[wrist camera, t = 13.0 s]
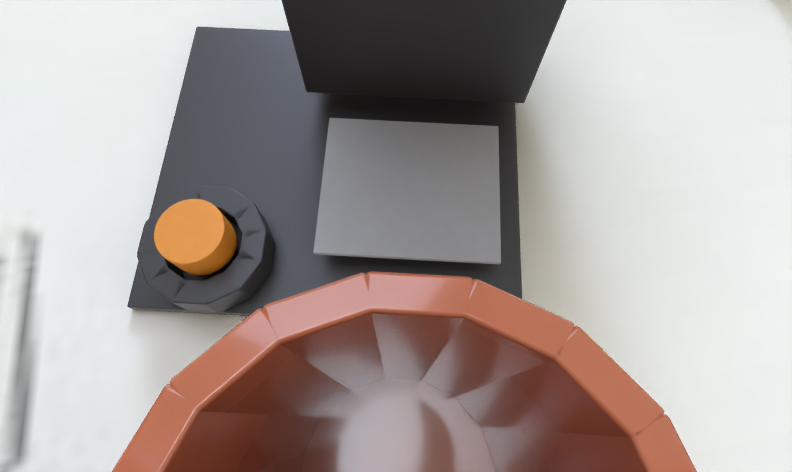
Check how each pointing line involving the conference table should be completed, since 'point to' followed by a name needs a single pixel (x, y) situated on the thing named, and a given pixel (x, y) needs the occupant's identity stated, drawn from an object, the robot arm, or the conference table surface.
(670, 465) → the tumbler
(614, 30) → the conference table surface
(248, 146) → the coffee maker base
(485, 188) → the coffee maker
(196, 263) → the brew button
